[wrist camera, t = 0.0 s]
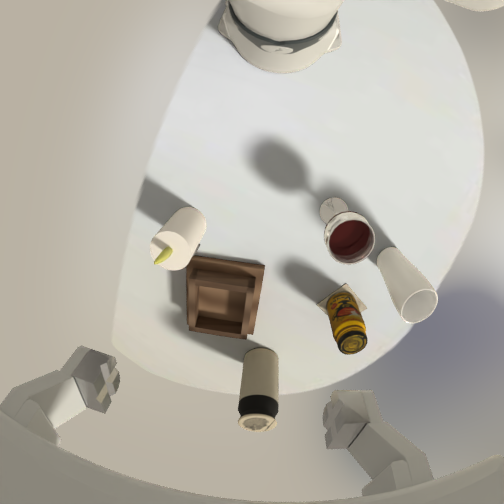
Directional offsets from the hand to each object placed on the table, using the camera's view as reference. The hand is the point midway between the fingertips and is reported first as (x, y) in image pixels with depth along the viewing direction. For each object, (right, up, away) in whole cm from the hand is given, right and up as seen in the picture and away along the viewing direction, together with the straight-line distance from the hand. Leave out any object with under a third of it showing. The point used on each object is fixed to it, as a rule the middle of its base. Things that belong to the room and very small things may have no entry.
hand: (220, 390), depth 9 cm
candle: (-10, +10, +40) cm, 42 cm away
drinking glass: (+27, +4, +40) cm, 48 cm away
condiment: (+19, -6, +46) cm, 50 cm away
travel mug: (+3, -20, +54) cm, 58 cm away
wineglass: (+15, +12, +37) cm, 41 cm away
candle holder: (-5, -4, +46) cm, 46 cm away
